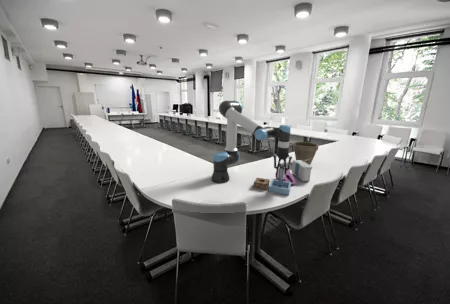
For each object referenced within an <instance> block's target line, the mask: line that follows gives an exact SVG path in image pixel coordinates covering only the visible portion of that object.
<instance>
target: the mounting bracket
mask: <svg viewBox="0 0 450 304" xmlns="http://www.w3.org/2000/svg"><path fill="white" fill-rule="evenodd" d="M293 175H294V174H293V173H292V172H291V171H290V169H289V170H287V171H286V175H284V179H283V181H285V182H291V186H295V185H296V183H297V179H295V177H294V176H293ZM277 177H278V173H276V172H275V180H278V179H279V178H277Z"/></svg>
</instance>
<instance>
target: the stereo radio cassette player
mask: <svg viewBox="0 0 450 304" xmlns="http://www.w3.org/2000/svg"><path fill="white" fill-rule="evenodd" d="M308 160H309V159H308ZM305 161H307V160H305ZM291 164H292V165H291V174H292V175H294V176H295V177H297V178H298V179H299V180H301V182H310V181H311V174H312V173H311V171H312V169H313V166H312V165H311V164H310V165H308V164H307V163H305V162H304V161H302V160H296V159H294V160H292V163H291Z"/></svg>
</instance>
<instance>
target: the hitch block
mask: <svg viewBox="0 0 450 304" xmlns="http://www.w3.org/2000/svg"><path fill="white" fill-rule="evenodd" d="M269 185H270V179H269V178H262V177H256V178H255V179H254V181H253V189H257V190H262V191H267V190H269Z"/></svg>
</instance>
